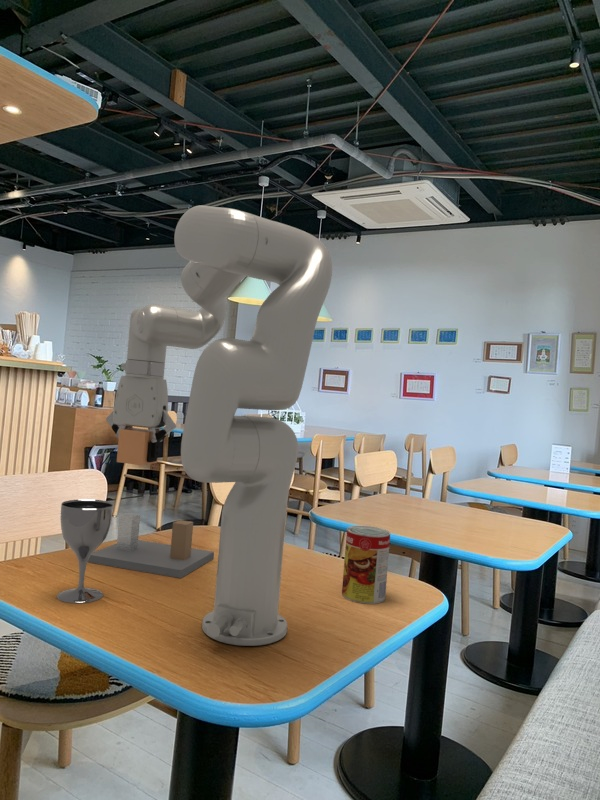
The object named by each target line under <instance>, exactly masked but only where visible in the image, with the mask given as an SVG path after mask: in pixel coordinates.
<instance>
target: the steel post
mask: <svg viewBox="0 0 600 800" xmlns="http://www.w3.org/2000/svg"><path fill="white" fill-rule="evenodd" d="M140 518H141V514H140V513H134V512H125V513H121V514H119V515H118V525H117V539H116V540H117V541H116V544H117V550H123V551H132V550H134V549H137V548H138V540H139V535H140V534H139V533H140V521H141V519H140Z"/></svg>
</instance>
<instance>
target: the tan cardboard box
mask: <svg viewBox="0 0 600 800" xmlns="http://www.w3.org/2000/svg"><path fill="white" fill-rule="evenodd" d="M118 439H119V440H118V442H117V454H116V455H117V456H116V463H121V464H122V463H123V464H129V465H137V466H147V465H153V464H157V463H158V458H159V457H158V458H157V461H155V462H147V452H148V442H151V439H150V435H149V431H148V428H141V427H132V428H127V429H119V438H118Z"/></svg>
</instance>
